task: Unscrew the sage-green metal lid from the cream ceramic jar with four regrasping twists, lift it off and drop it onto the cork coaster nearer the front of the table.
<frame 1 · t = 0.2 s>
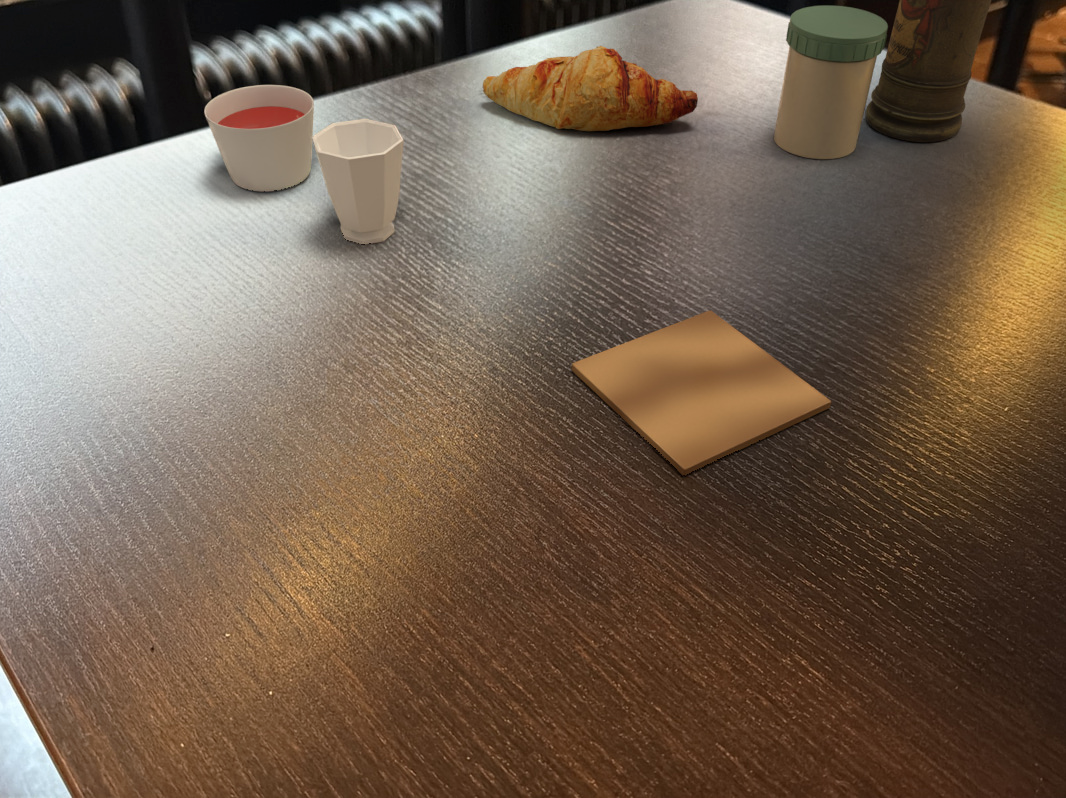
croissant: (586, 116, 98), on the table
coaster: (697, 388, 66), on the table
candle: (271, 176, 88), on the table
container: (911, 125, 97), on the table
lid: (837, 27, 87), point 11 cm above the table, screwed on, not yet turned
jar: (814, 141, 94), on the table
cup: (371, 223, 82), on the table
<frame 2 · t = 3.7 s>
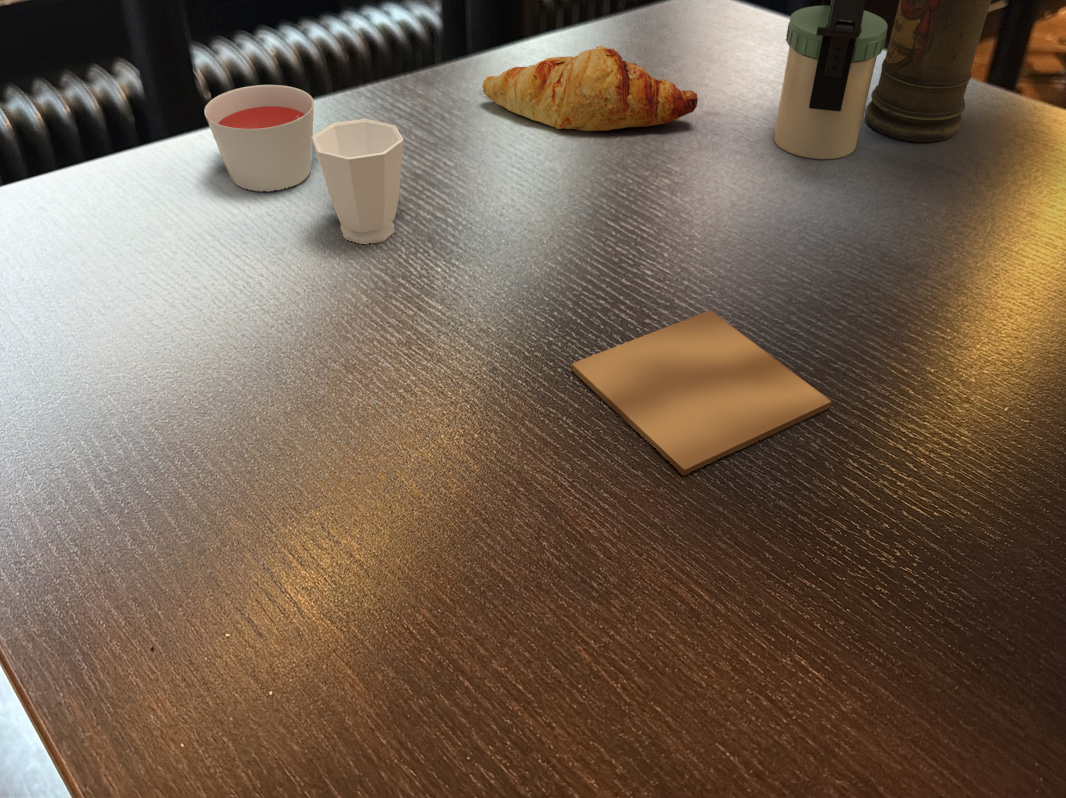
hand: (824, 88, 91), 5 cm above the table, tool pointing down, fingers closed on lid, 8 cm apart
lid: (837, 27, 87), point 11 cm above the table, screwed on, not yet turned, touching gripper
everything else where it was.
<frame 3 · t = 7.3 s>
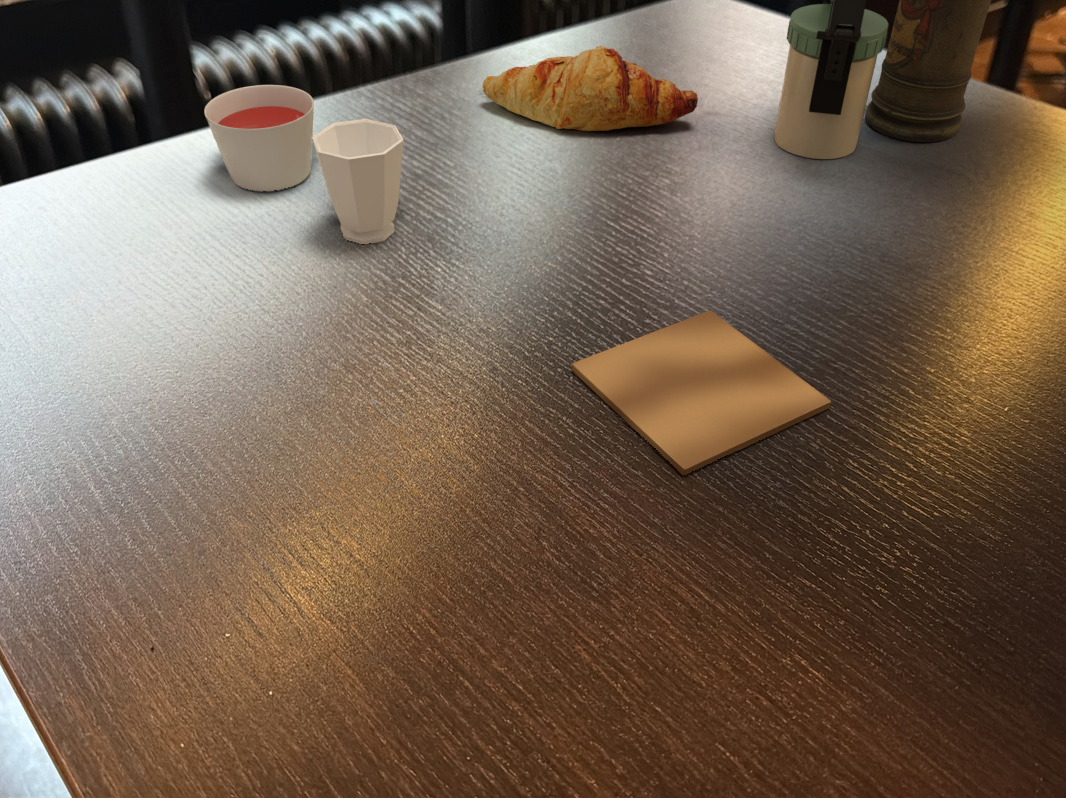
hand: (824, 91, 91), 5 cm above the table, tool pointing down, fingers closed on lid, 8 cm apart
lid: (838, 25, 87), point 11 cm above the table, turned 89° so far, risen 0.1 cm, still on its thread, touching gripper
everything else where it was.
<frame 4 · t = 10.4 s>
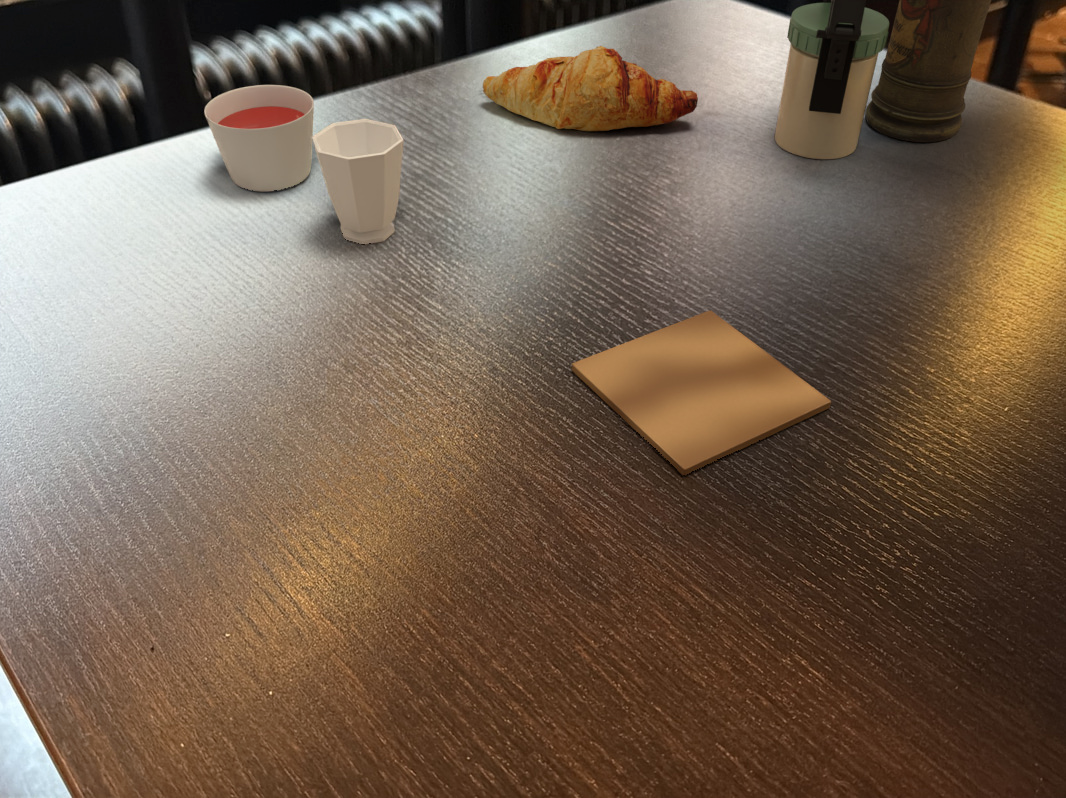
hand: (824, 90, 91), 5 cm above the table, tool pointing down, fingers closed on lid, 8 cm apart
lid: (839, 24, 87), point 11 cm above the table, turned 178° so far, risen 0.3 cm, still on its thread, touching gripper
everything else where it was.
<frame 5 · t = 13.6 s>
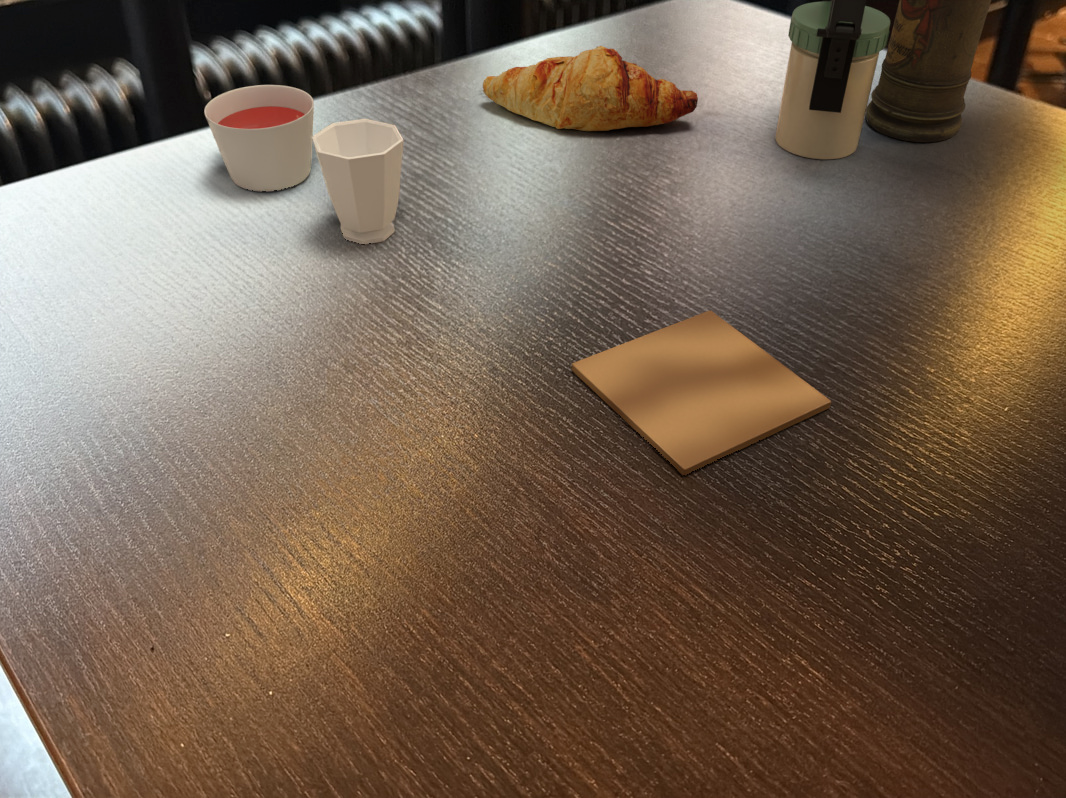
hand: (825, 89, 91), 5 cm above the table, tool pointing down, fingers closed on lid, 8 cm apart
lid: (840, 22, 87), point 11 cm above the table, turned 267° so far, risen 0.4 cm, still on its thread, touching gripper
everything else where it was.
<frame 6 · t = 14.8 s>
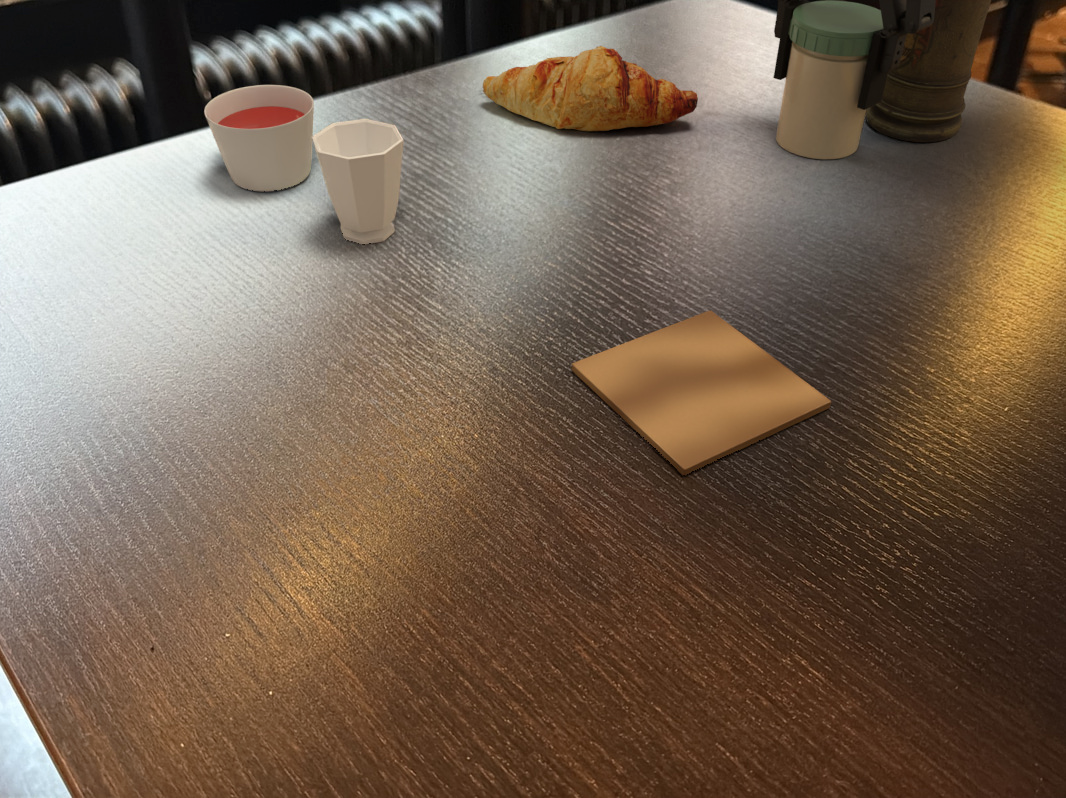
hand: (826, 89, 91), 5 cm above the table, tool pointing down, fingers closed on lid, 8 cm apart
lid: (840, 21, 87), point 11 cm above the table, turned 323° so far, risen 0.4 cm, still on its thread, touching gripper
everything else where it was.
when the fingers open (3 cm above the table, at t = 23.7 s): lid drops 6 cm, resting on coaster.
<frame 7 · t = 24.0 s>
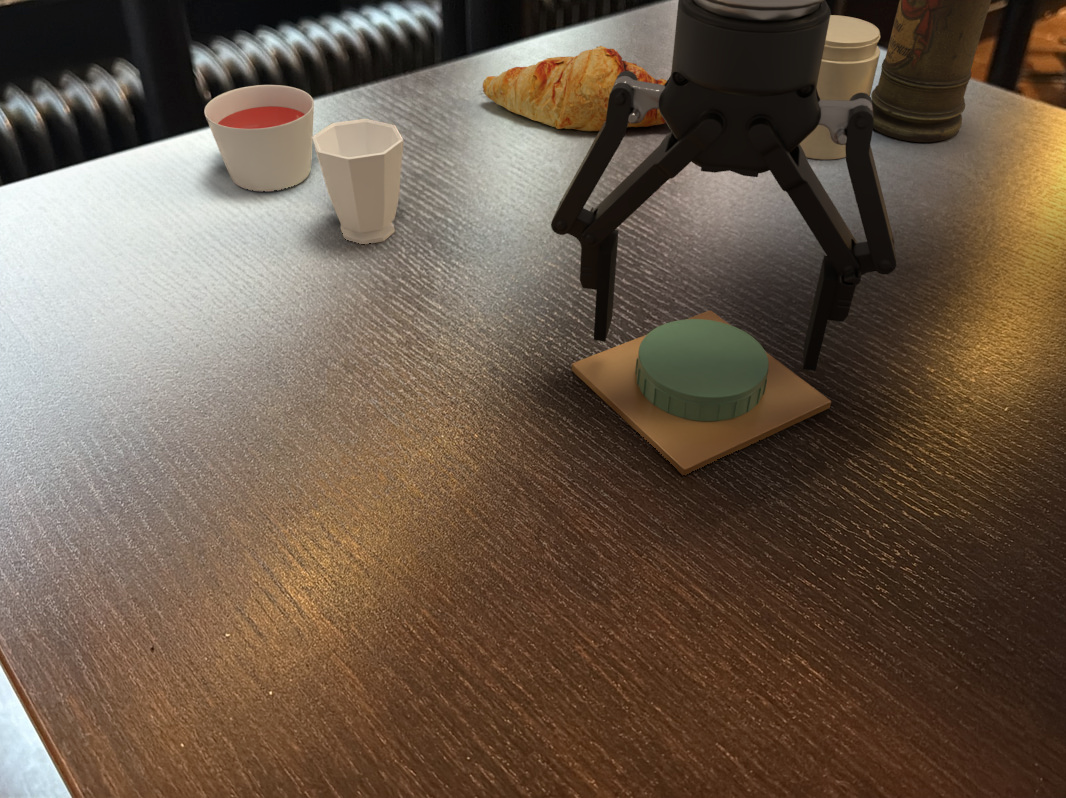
hand: (704, 343, 63), 4 cm above the table, tool pointing down, fingers open, 12 cm apart
lid: (702, 362, 64), point 2 cm above the table, off its thread, touching coaster
everything else where it was.
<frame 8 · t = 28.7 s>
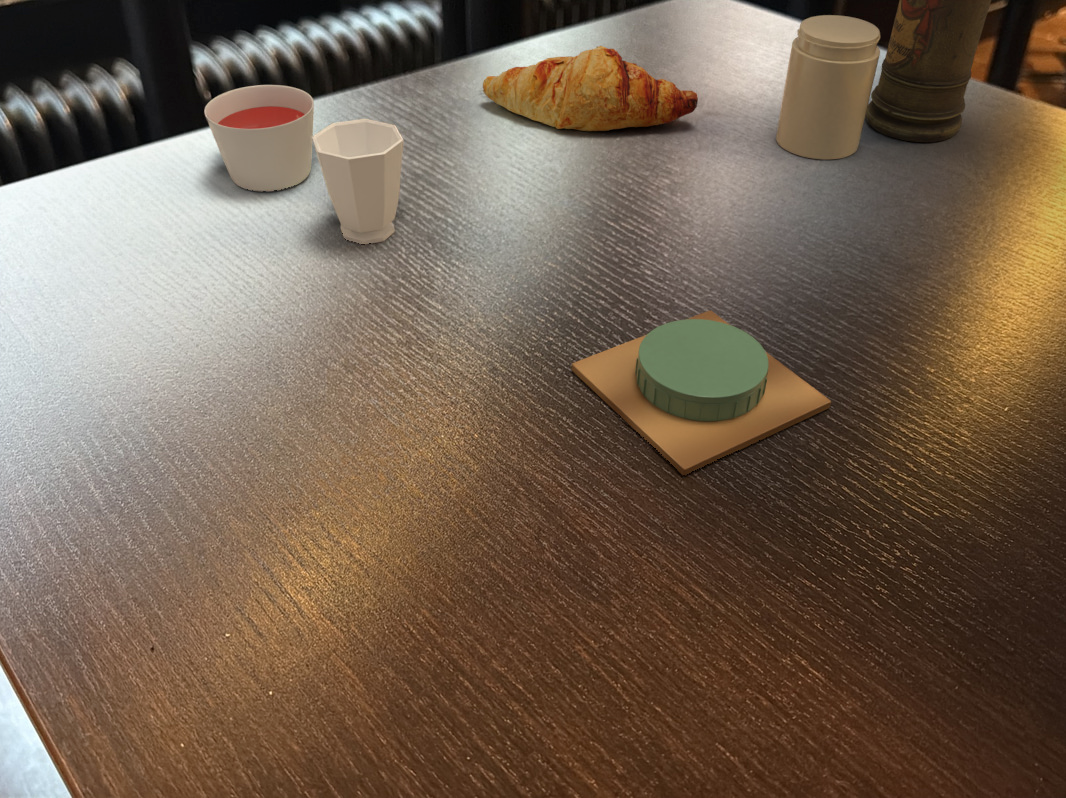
nothing on the table moved.
at the end: lid came off its thread; lid inside the target area on the coaster (0.1 cm from its centre), point 2.1 cm above the coaster's base; the gripper is holding nothing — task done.
